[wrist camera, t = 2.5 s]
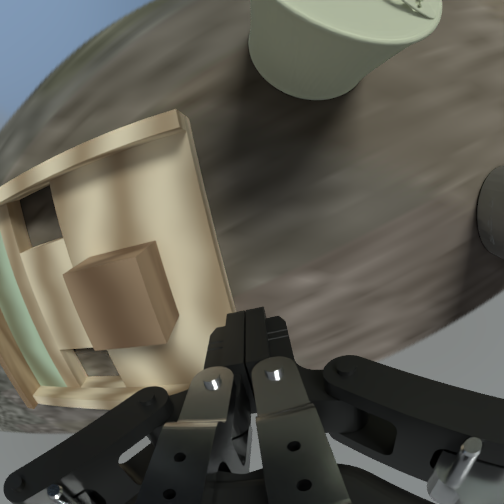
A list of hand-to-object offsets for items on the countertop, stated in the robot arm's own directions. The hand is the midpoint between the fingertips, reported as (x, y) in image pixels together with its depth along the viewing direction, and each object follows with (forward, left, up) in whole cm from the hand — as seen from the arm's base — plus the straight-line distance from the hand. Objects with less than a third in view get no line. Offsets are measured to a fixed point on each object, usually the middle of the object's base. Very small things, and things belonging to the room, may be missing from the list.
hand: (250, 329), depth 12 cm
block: (+9, 0, -9) cm, 13 cm away
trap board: (+15, 0, -11) cm, 19 cm away
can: (-8, -15, -12) cm, 20 cm away
